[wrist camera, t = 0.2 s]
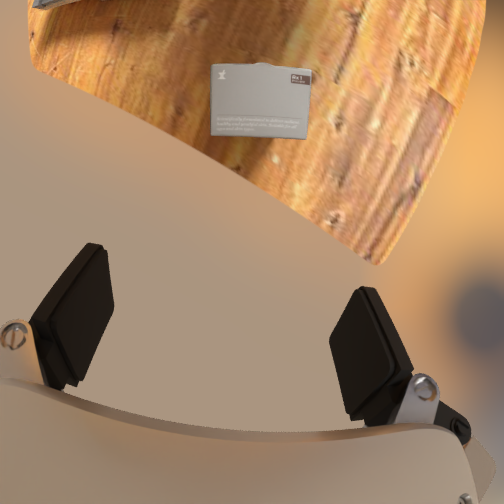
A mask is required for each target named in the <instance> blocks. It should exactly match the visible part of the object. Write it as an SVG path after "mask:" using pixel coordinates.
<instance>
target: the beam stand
mask: <svg viewBox="0 0 504 504" xmlns="http://www.w3.org/2000/svg"><path fill="white" fill-rule="evenodd" d="M76 1H80V0H34V3H33V6H32V8H38V9H43V10H48V9H51V8H54V7H57V6H61V5H64V4H68V3H72V2H76ZM101 1H108V0H101Z"/></svg>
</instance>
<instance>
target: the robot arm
mask: <svg viewBox="0 0 504 504" xmlns="http://www.w3.org/2000/svg"><path fill="white" fill-rule="evenodd" d="M113 311H114V300H113V293H112V286H111V280H110V271H109V263H108V253H107V250H104V248H103V246H102V245H99V244H94V243H87V244H86V245H85V246H84V248H83V249H82V250H81V251H80V252H79V254H78V255H77V256H76V257H75V258H74V260H73V261H72V262H71V263H70V265H69V266H68V267H67V269H66V270H65V271H64V272H63V273H62V275H61V276H60V278H59V279H58V280H57V281H56V283H55V284H54V285H53V287H52V288H51V289H50V291H49V292H48V294H47V295H46V296H45V298H44V299H43V301H42V302H41V303H40V305H39V306H38V308H37V309H36V311H35V312H34V314H33V315H32V317H31V319H30V321H29V322H26V321H24V320H21V319H14V320H11V321H8V322H6V323H5V324H4V325H3V326H2V327H1V328H0V504H479V502H480V501H481V499H482V497H483V496H484V494H485V492H486V491H487V489H488V487H489V485H490V483H491V481H492V479H493V477H494V475H495V472H496V465H495V461H494V460H493V458H492V457H491V456H490V455H489V453H488V452H487V451H486V450H485V449H484V447H483V446H482V445H481V444H480V442H479V441H478V440H477V439H476V438H475V437H474V436H472V437H471V427H470V424H469V422H468V421H467V419H466V418H465V417H463V416H462V415H461V414H459V413H458V412H456V411H455V410H453V409H452V408H450V407H449V406H447V405H446V404H444V403H443V402H441V401H440V400H439V398H440V391H439V387H438V385H437V383H436V382H435V381H434V380H433V379H432V378H431V377H430V376H428V375H426V374H422V373H419V374H415V375H414V376H413V375H412V373H411V372H412V371H413V370H414V368H413V365H412V363H411V361H410V358H409V356H408V355H407V352H406V350H405V347H404V345H403V343H402V341H401V339H400V337H399V334H398V332H397V330H396V328H395V326H394V324H393V322H392V320H391V318H390V316H389V314H388V312H387V310H386V308H385V306H384V304H383V302H382V300H381V298H380V296H379V294H378V292H377V291H376V289H375V288H371V287H364V286H361V287H360V288H359V289H356V290H355V291H354V293H353V294H352V296H351V298H350V300H349V302H348V304H347V306H346V308H345V310H344V312H343V314H342V315H341V317H340V319H339V321H338V323H337V325H336V327H335V328H334V330H333V332H332V334H331V336H330V339H329V344H330V348H331V352H332V356H333V360H334V364H335V368H336V372H337V376H338V380H339V384H340V389H341V393H342V397H343V401H344V406H345V411H346V413H347V414H349V415H350V420H351V421H356V420H363V419H364V422H365V425H364V426H363V428H357V429H346V430H334V431H318V432H258V431H241V430H229V429H219V428H210V427H202V426H194V425H188V424H182V423H176V422H171V421H165V420H160V419H155V418H150V417H146V416H142V415H137V414H133V413H129V412H125V411H121V410H118V409H114V408H111V407H107V406H104V405H100V404H97V403H94V402H91V401H88V400H84V399H81V398H78V397H75V396H72V395H70V394H67V393H64V391H63V389H64V387H65V385H66V384H69V385H72V386H74V387H77V385H78V383H79V380H80V381H83V379H84V378H85V375H86V373H87V370H88V368H89V365H90V363H91V361H92V358H93V356H94V353H95V351H96V349H97V346H98V344H99V342H100V340H101V337H102V335H103V333H104V331H105V329H106V326H107V324H108V322H109V320H110V318H111V316H112V314H113Z"/></svg>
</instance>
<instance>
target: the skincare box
mask: <svg viewBox="0 0 504 504" xmlns="http://www.w3.org/2000/svg"><path fill="white" fill-rule="evenodd" d="M311 76H312V70H310V69H303V68H294V67H284V66H273V65H271V64H268V63H255V64H213V65H211V71H210V133H211V135H212V136H241V137H264V138H283V139H301V140H306V138H307V129H308V118H309V106H310V93H311Z"/></svg>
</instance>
